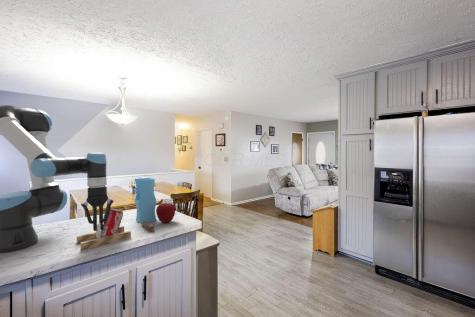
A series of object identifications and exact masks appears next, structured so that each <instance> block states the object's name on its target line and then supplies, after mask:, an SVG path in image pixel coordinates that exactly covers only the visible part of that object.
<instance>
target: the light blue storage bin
mask: <svg viewBox="0 0 475 317" xmlns="http://www.w3.org/2000/svg"><path fill="white" fill-rule="evenodd" d="M155 181H156V179H155V178H154V177H141V178H134V182H135V186H136V194H135V198H134V203H135V209H136V216H135V221H136V222H137V223H138V224H142V221H147V222H148V223H150V222H155V221H157V215H156V204H157V198H156V195H155V190H154V187H155Z"/></svg>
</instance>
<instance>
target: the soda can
mask: <svg viewBox="0 0 475 317" xmlns="http://www.w3.org/2000/svg"><path fill="white" fill-rule="evenodd" d="M123 217H124V210H122V209H119V208H112V207H111V208H110V212H109V216H108V219H107V221H104V222H103V230H101V237H106V236H110V235H114V234H117V233H118V230H119V227H120V226H121V223H122V219H123Z"/></svg>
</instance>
